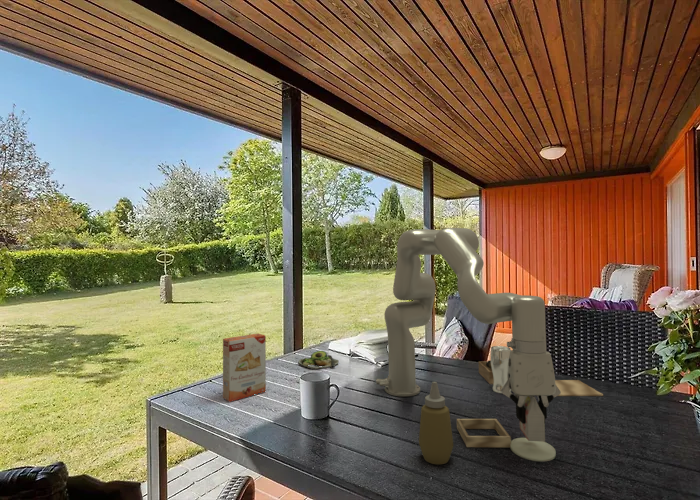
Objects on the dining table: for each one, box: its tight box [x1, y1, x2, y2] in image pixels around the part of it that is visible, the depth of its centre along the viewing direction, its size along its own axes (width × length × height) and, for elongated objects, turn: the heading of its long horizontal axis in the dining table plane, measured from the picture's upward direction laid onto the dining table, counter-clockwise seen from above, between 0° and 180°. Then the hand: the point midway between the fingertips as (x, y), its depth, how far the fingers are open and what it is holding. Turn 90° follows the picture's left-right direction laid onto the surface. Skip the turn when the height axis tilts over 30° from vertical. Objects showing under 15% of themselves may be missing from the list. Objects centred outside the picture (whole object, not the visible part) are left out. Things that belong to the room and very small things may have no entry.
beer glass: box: [490, 345, 512, 394], centre depth 135 cm, size 7×7×15 cm
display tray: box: [478, 360, 494, 385], centre depth 148 cm, size 14×14×4 cm
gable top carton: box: [519, 396, 546, 442], centre depth 93 cm, size 4×7×10 cm, turn 172°
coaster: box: [509, 437, 557, 462], centre depth 93 cm, size 10×10×1 cm
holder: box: [456, 418, 512, 448], centre depth 101 cm, size 11×11×2 cm
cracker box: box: [222, 333, 267, 403], centre depth 136 cm, size 14×6×21 cm, turn 131°
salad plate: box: [298, 350, 340, 370], centre depth 173 cm, size 19×18×5 cm
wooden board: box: [555, 379, 604, 397], centre depth 136 cm, size 17×15×1 cm
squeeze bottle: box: [418, 381, 454, 465], centre depth 91 cm, size 8×8×18 cm
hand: (531, 420), depth 93 cm, fingers closed on gable top carton, 4 cm apart
